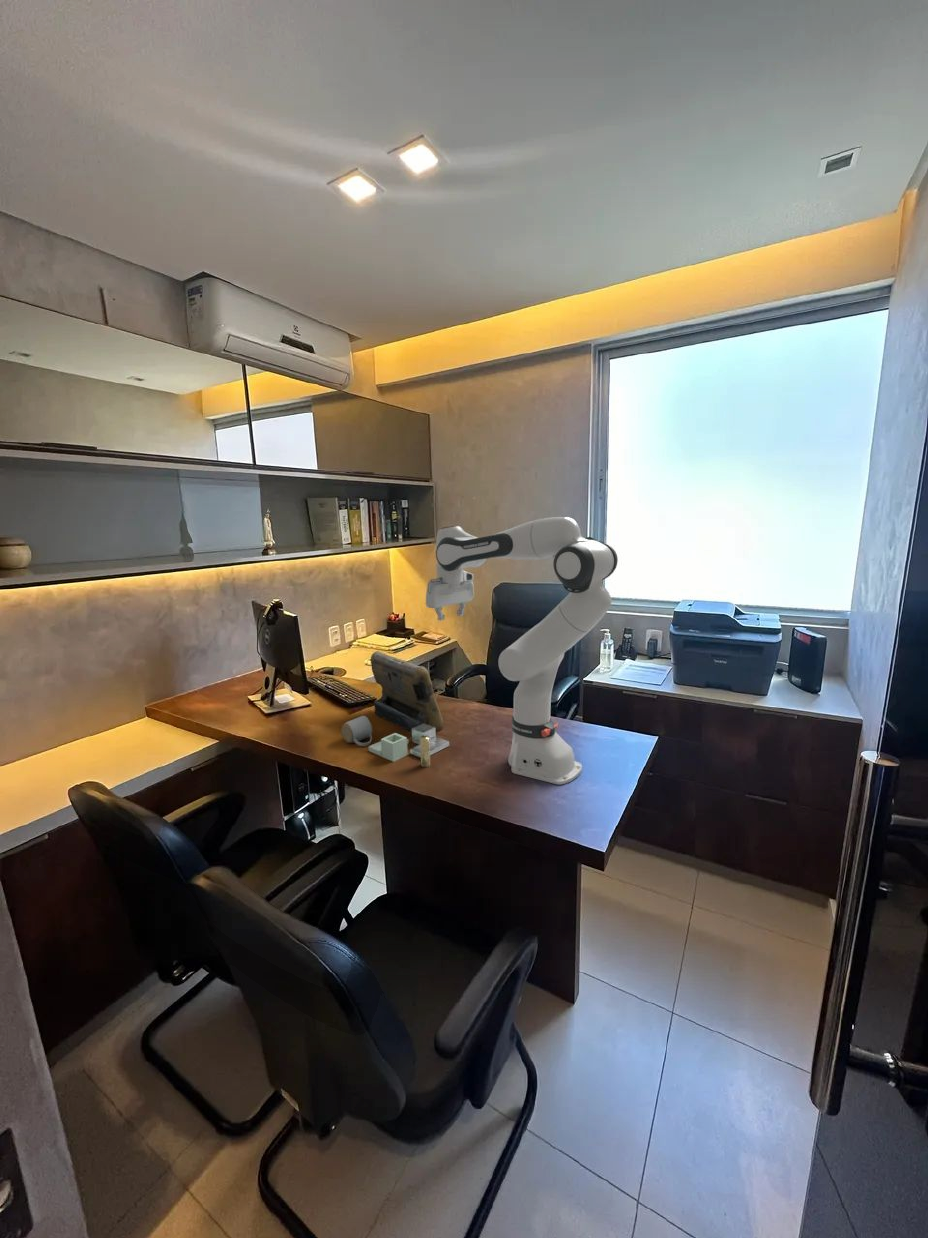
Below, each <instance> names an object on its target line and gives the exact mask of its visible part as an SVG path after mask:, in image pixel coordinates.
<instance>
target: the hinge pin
mask: <svg viewBox="0 0 928 1238" xmlns="http://www.w3.org/2000/svg"><path fill="white" fill-rule="evenodd" d="M420 747H421V758H420V767H422V768H428V767H430V766H431V755H430V739H429V736H421V737H420Z"/></svg>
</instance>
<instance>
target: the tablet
mask: <svg viewBox="0 0 928 1238" xmlns="http://www.w3.org/2000/svg"><path fill="white" fill-rule="evenodd" d="M370 664H371V672H372V675H373V677H374V680H375V682H376V684H379V685H380V687H381V696H380V698H378V699H376V700H374V714H375V715H377V716H378V717H380V718H382V719H384V720H386V721H388V722H390V723H391V724H393V725H395V726H398V727H399V728H401V729H403V730H405V731H406V732H408V733H410V734H412V728H414V727H416V726H419V725H421V724H423V723H424V724H427V725H430V726H433V727H435V731H436V733H437V732H440V731H442V730H443V729H444V728H443V725H444V719H443V716H442V713H441V709H440V707H439V705H438V702H437V698H436V696H437V695H436V694H435V691H434V689H433V683H432V680H431V676H430V674H429V671H428V669H427V668H426V667H425V666H422V665H421V666H420V665H417V664H414V663H412V662H408V661H406V660H403V659H400V658H397V657H394V656H392V655H388V654H386V653H383V652H381V651H379V650H376V651H374V652H373V653H372V654H371V656H370Z"/></svg>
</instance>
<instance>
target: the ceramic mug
mask: <svg viewBox="0 0 928 1238" xmlns="http://www.w3.org/2000/svg"><path fill="white" fill-rule="evenodd" d="M341 733H342V736H343V739H344V740H345V741H346V742H347V743H349V744H352V743H353V744H354V743H355V744H356V745H358V746H359V747H367V746H368V747H369V746H370V745H371V744H372V742H373V741H372V740H373V736H372V735H373V727H372V724H371V721H370V720H369V718H368V717H367V716H365V715H361V716H358V717H355V718H353V719H352V720H349V721H346V722H345V723H343V725H342V727H341ZM368 738H369V741H367V742H360V741H362V740H365V739H368Z"/></svg>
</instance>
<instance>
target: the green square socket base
mask: <svg viewBox="0 0 928 1238" xmlns="http://www.w3.org/2000/svg"><path fill="white" fill-rule="evenodd" d="M409 743H410V741H409V738H407V736H404V735H403V734H399V733H397V732H394V733H391V734H389V735H387V736H384V737H383V738H380V741H378V742H376V743H374V744H370V745H368V751H369V752H371V753H373V754H375V755H378V756H379V757H382V758H384V759H386V760H388V761H391V762H393V763H394V762H396V761H399V760H400V759H403V758H404V757H406V756H408V744H409Z"/></svg>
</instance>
